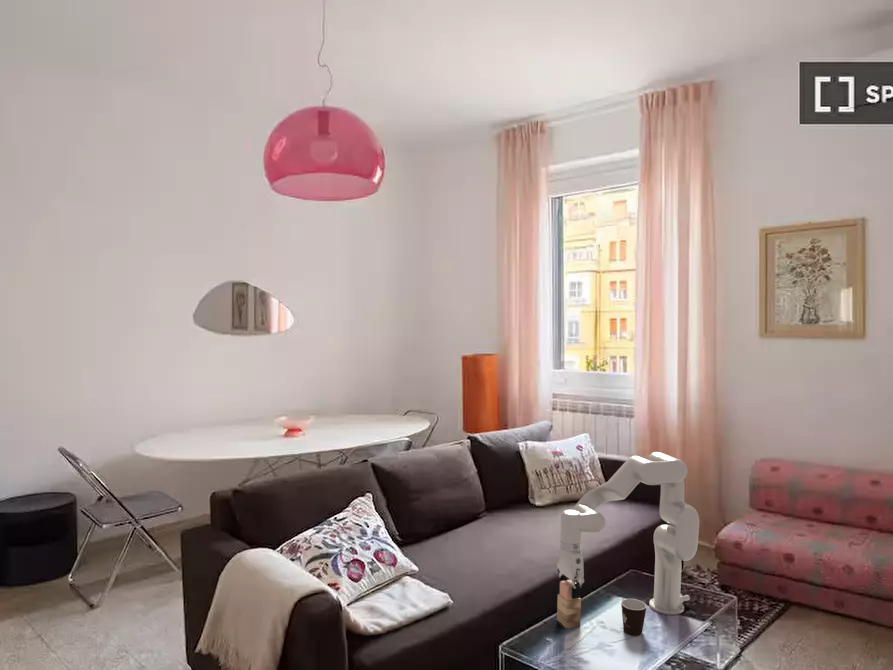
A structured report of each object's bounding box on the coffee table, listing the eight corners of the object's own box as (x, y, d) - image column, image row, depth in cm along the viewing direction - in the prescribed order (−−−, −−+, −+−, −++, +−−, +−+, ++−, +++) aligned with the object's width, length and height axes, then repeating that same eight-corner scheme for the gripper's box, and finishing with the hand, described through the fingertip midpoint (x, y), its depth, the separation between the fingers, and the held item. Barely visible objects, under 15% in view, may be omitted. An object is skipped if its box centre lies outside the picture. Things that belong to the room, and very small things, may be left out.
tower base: (570, 618, 246) (571, 605, 245) (580, 625, 240) (580, 612, 240) (556, 621, 243) (557, 607, 243) (565, 628, 238) (566, 615, 238)
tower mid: (571, 605, 245) (571, 591, 245) (580, 612, 240) (581, 598, 239) (557, 607, 243) (557, 594, 243) (566, 615, 238) (566, 601, 237)
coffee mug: (646, 639, 232) (647, 611, 231) (620, 636, 233) (621, 608, 233) (643, 623, 243) (644, 596, 242) (619, 620, 245) (620, 593, 244)
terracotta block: (571, 592, 244) (571, 579, 244) (579, 598, 240) (579, 584, 239) (559, 594, 242) (559, 581, 242) (567, 600, 238) (567, 587, 238)
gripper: (593, 552, 233) (592, 601, 234) (566, 535, 249) (565, 581, 250) (575, 555, 230) (574, 605, 232) (549, 538, 246) (547, 584, 248)
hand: (569, 592), depth 241 cm, fingers open, 7 cm apart
